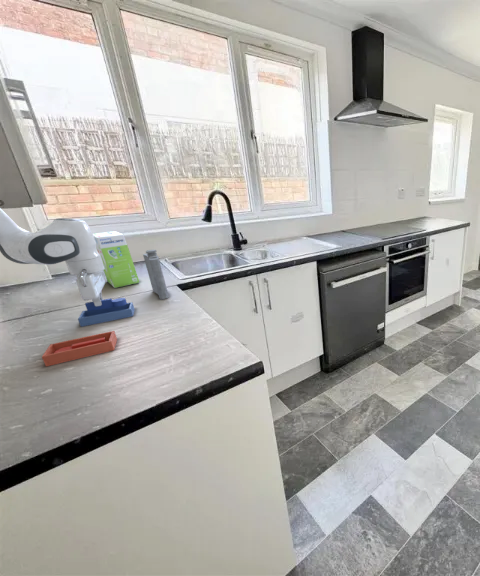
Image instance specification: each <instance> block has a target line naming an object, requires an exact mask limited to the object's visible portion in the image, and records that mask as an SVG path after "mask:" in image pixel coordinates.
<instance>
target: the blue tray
mask: <svg viewBox="0 0 480 576" xmlns="http://www.w3.org/2000/svg"><path fill="white" fill-rule="evenodd" d="M134 314H135V306H134V303H133V301H131V302H127V304H126V305H123V306H120V307H108V308H103V309H97V310H92V311H87V309H86V310H82V311H81V313H80V314H79V316H78V318H77V320H78V323H79V325H80V327H81V328H82V327H88V326H93V325H97V324H102V323H107V322H112V321H116V320H122V319H128V318H132V317H134Z"/></svg>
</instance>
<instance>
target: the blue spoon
mask: <svg viewBox="0 0 480 576" xmlns="http://www.w3.org/2000/svg"><path fill="white" fill-rule="evenodd" d="M101 301H102V305H101V306H95V304H94V302H93V301H89V302H85V304H84V305H85V308H86V310H87V311H92V310H97V309H103V308H108V307H120V306H123V305H126V304H127V303H128V302H127V300H126V297H118V298H114V299H112V298H105V299H104V298H103V300H101Z"/></svg>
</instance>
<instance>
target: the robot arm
mask: <svg viewBox="0 0 480 576" xmlns="http://www.w3.org/2000/svg"><path fill="white" fill-rule="evenodd" d="M93 234H94V233H93V231H92V229H91V227H90V226H89V224H88V223H87V222H86V221H85V220H83V219H78V218H56V219H53V220H52V222H51V223H49V224H48V225H47V226H46V227H44V228H42V229H40V230H38V231H36V232H32V231H29V230H26V229H24V228H22V227H20V226H19V225H18V224H17V223H16V222H15V221H14V220H13V219H12V218H11V217H10V216H9V215H8V214H7V213H6V212H5V210H3V209H2V207H0V253H1V255H2V256H3V257H4V258H6V259H7V260H8V261H11V262H13V263H16V264H21V265H32V264H34V265H47V266H48V265H50V266H51V265H57V264H59V263H63V262H65V264H66V267H67V269H68V272H69V274H70V276H71V275H72V276H76V285H77V287H78V291H79V294H80V297H81V299H82V300H83V301H85V302H86V301H91V302H94V304H95V306H101V305H102V301H101V300H104V298H103V292H102V290H103V289H104V286H105V284H106V277H105V273H104V269H105V268H104V265H103V262H102V259H101V256H100V254H99V253H98V251H97V249H96V241H95V238H94V236H93Z"/></svg>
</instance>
